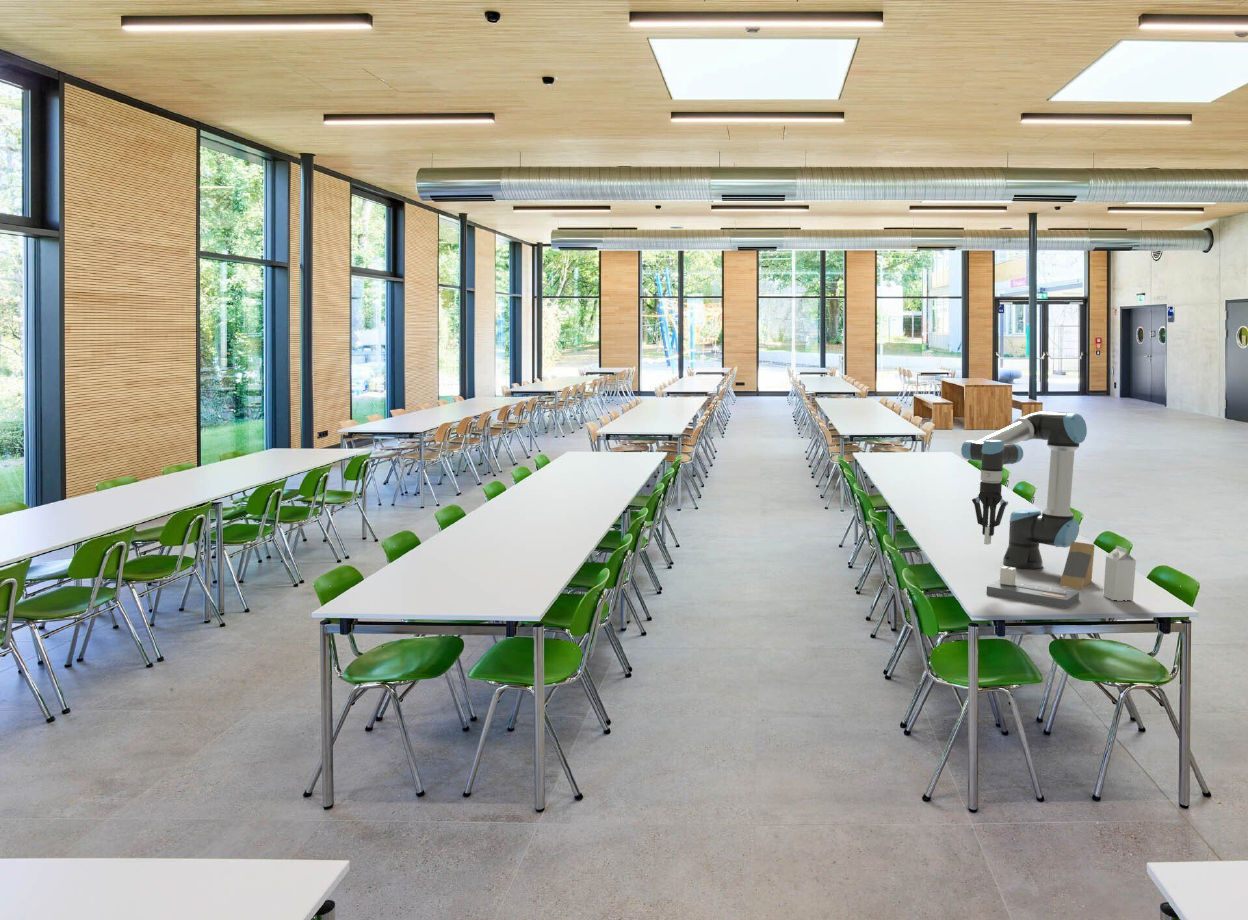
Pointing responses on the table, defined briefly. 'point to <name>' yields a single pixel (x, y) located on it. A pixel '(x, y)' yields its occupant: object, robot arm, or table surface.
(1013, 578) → the fader knob
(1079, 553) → the sandwich container
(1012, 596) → the fader console
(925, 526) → the table surface
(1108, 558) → the milk carton
